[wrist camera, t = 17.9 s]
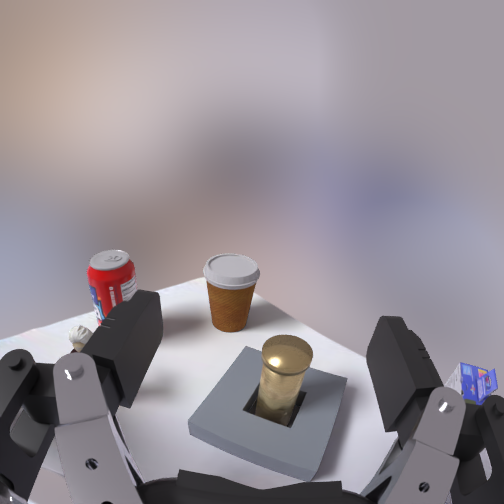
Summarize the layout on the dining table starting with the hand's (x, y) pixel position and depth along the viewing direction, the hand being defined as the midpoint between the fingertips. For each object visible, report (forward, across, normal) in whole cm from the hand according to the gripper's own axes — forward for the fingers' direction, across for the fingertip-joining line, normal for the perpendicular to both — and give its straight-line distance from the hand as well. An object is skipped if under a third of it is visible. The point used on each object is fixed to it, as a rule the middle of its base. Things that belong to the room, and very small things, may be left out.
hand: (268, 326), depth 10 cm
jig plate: (+15, -3, +28) cm, 32 cm away
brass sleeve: (+15, -3, +28) cm, 32 cm away
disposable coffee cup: (+35, +5, +28) cm, 45 cm away
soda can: (+27, +23, +28) cm, 45 cm away
